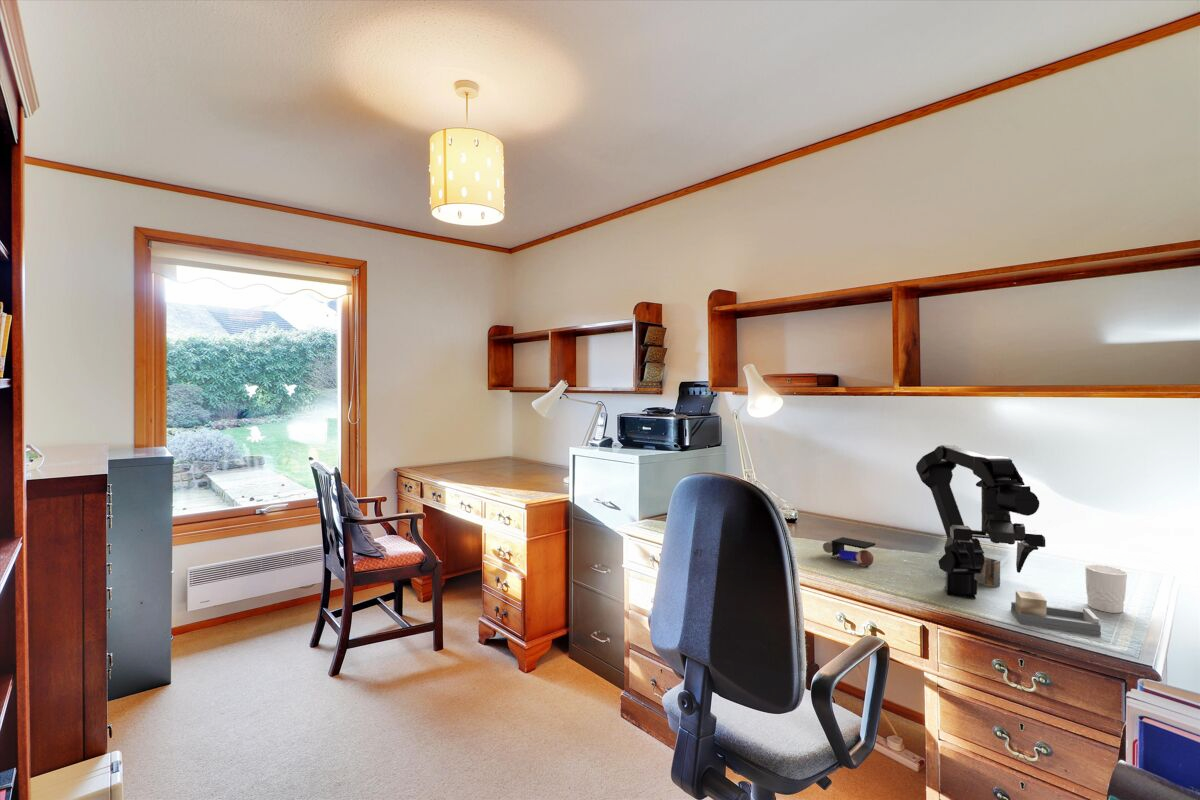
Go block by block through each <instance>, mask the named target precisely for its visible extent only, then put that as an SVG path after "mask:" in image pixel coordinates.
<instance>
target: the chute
mask: <svg viewBox="0 0 1200 800" xmlns="http://www.w3.org/2000/svg"><path fill="white" fill-rule="evenodd" d="M1010 604H1011V605H1010V611H1011V613H1012V614H1013V615H1014V617H1015V618H1017V619H1016V620H1017V622H1018V621H1019V622H1018V623H1019V624H1020V625H1026V626H1031V625H1033V626H1032V627H1038V626H1041V627H1040V628H1045V627H1048V628H1047V629H1051V628H1053V629H1052V630H1058V629H1061V630H1060V631H1065V630H1066V631H1065V632H1073V633H1079V634H1087V635H1094V636H1100V637H1101V636H1102V632H1101V628H1102V627H1101V626H1102V625H1101V624H1100V618H1098V616H1096V614H1095V613H1093V612H1092V611H1091V610H1090V608H1087V607H1086V608H1083V610H1079V609H1070V608H1063V607H1056V606H1049V605H1047V610H1046V616H1041V615H1034V614H1026V613H1019V615H1018V613H1017V612H1016V610H1015V601H1013V600H1012V601H1011V602H1010Z"/></svg>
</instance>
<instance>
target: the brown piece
mask: <svg viewBox="0 0 1200 800" xmlns="http://www.w3.org/2000/svg"><path fill="white" fill-rule="evenodd" d="M984 557H985V562H984V565H983V568H982V572H981V574H978V573H974V574H975V578H976V580H977V584H981V585H984V586H988V587H991V588H995V589H996V588H999V587H1000V586H1001V560H999V559H998V560H997V559H995V558H990V557H986V556H984Z"/></svg>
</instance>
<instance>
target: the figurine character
mask: <svg viewBox="0 0 1200 800" xmlns="http://www.w3.org/2000/svg"><path fill="white" fill-rule="evenodd" d="M845 546H848V547H853V548H857V549H858V548H859V549H861V550H859V551H856V550H855V551H853V550H846V549H845ZM874 546H876V542H871V541H865V540H860V539H855V538H850V537H849V538H848V537H844V536H842V537H839V538H836V539H833V540H831V541H827V542H824V543H823V545H822V549H823V551H824V552H825V553H827V554H831V553H832V555H831V556H830V558H831V559H833V560H844V561H849V562H850V561H851V562H852V561H853V562H857V563H858V564H859V566H862V567H869V566H871V565H872V564H873V562H874V555H873V554H872V552H871V551H869V550H867V549H869V548H871V547H874ZM865 549H866V550H865Z"/></svg>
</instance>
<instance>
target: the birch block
mask: <svg viewBox="0 0 1200 800" xmlns="http://www.w3.org/2000/svg"><path fill="white" fill-rule="evenodd" d="M1014 602H1015V610H1016V612H1017V613H1018V615H1019V613H1026V614H1034V615H1041V616H1046V610H1047V606H1048V605H1047V604H1048V603H1047V602H1048V601H1047V599H1046V598H1045V597H1044V596H1043V595H1042V593H1040V592H1030V591H1025V590H1024V591H1023V590H1015V600H1014Z"/></svg>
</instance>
